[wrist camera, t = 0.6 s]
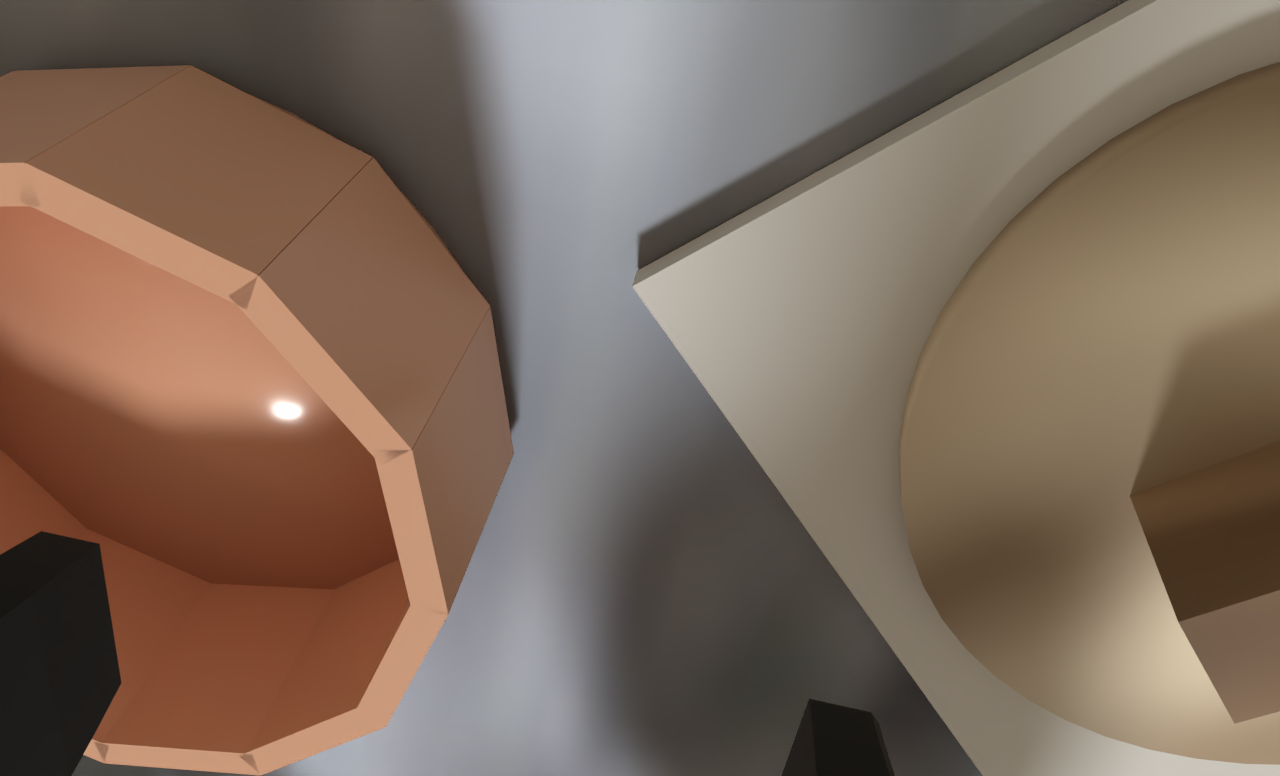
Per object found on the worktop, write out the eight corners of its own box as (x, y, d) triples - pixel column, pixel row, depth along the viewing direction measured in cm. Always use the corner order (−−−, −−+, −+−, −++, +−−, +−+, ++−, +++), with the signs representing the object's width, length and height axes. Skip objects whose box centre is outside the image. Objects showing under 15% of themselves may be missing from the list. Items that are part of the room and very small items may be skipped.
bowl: (632, 462, 21) (586, 648, 17) (226, 652, 26) (113, 832, 22) (203, -89, 17) (0, -18, 13) (-194, 262, 22) (-436, 397, 18)
